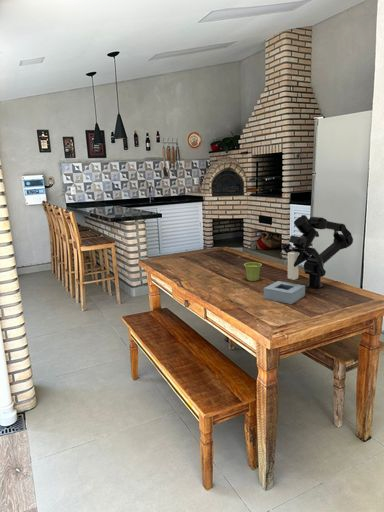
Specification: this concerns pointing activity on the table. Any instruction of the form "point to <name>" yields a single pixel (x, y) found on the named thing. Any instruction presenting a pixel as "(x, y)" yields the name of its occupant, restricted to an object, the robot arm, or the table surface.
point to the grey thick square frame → (284, 292)
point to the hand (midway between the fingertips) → (291, 265)
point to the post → (292, 265)
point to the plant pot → (252, 270)
